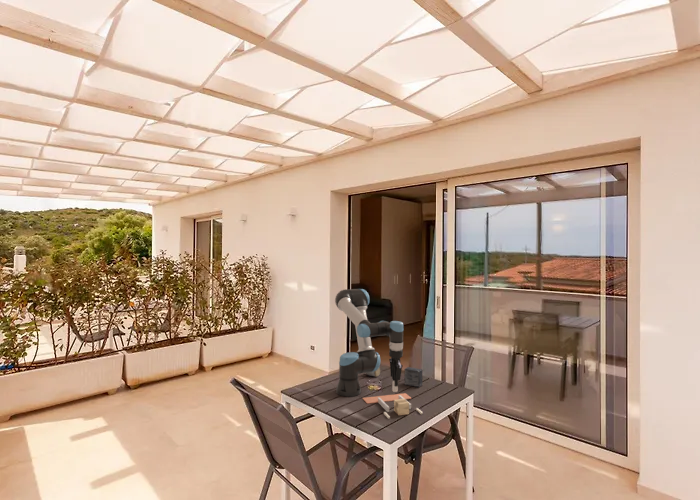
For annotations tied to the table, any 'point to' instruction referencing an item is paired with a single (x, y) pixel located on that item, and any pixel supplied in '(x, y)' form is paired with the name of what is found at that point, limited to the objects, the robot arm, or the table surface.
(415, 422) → the table surface
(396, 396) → the mat
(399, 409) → the maple block
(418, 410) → the strips
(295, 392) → the table surface
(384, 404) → the guide rails
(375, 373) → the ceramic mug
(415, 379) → the small box
